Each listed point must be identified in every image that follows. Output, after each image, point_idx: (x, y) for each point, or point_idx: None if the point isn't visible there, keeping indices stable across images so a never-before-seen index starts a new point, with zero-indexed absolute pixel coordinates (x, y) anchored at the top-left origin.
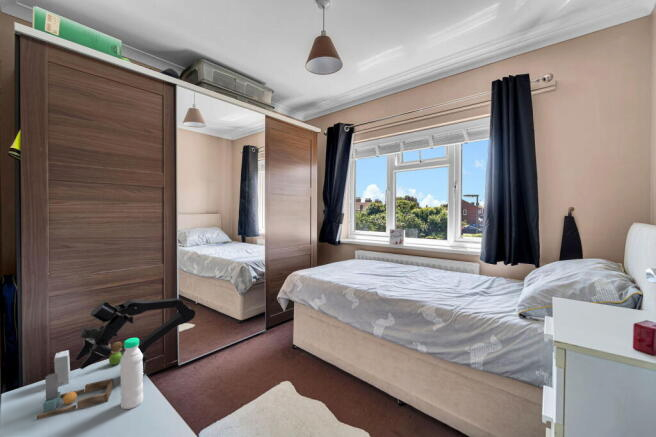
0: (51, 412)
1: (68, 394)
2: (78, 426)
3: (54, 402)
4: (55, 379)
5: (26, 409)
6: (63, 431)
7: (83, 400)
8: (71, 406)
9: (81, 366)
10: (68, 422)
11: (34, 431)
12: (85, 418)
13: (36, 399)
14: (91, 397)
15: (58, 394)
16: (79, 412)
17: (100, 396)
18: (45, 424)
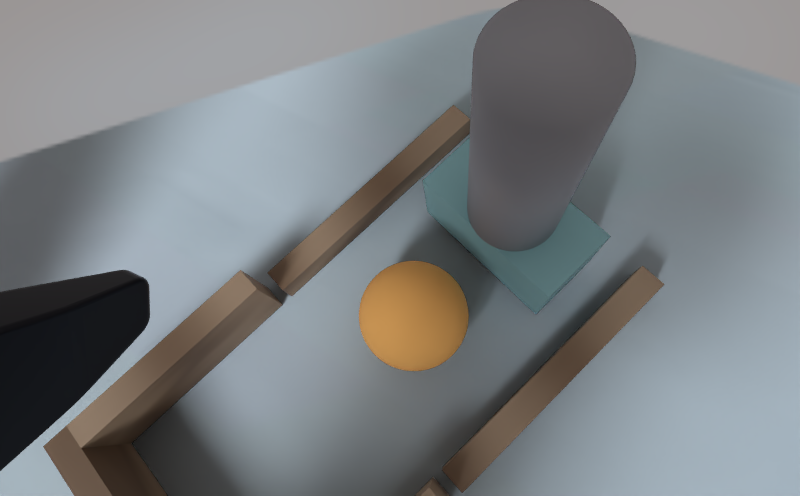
0: (386, 166)
1: (395, 285)
2: (84, 174)
3: (428, 190)
4: (474, 109)
5: (683, 157)
6: (141, 117)
7: (204, 304)
8: (299, 261)
9: (85, 283)
10: (190, 175)
11: (329, 58)
12: (106, 239)
13: (785, 261)
14: (156, 352)
15: (507, 258)
16: (212, 268)
17: (98, 401)
18: (330, 114)
